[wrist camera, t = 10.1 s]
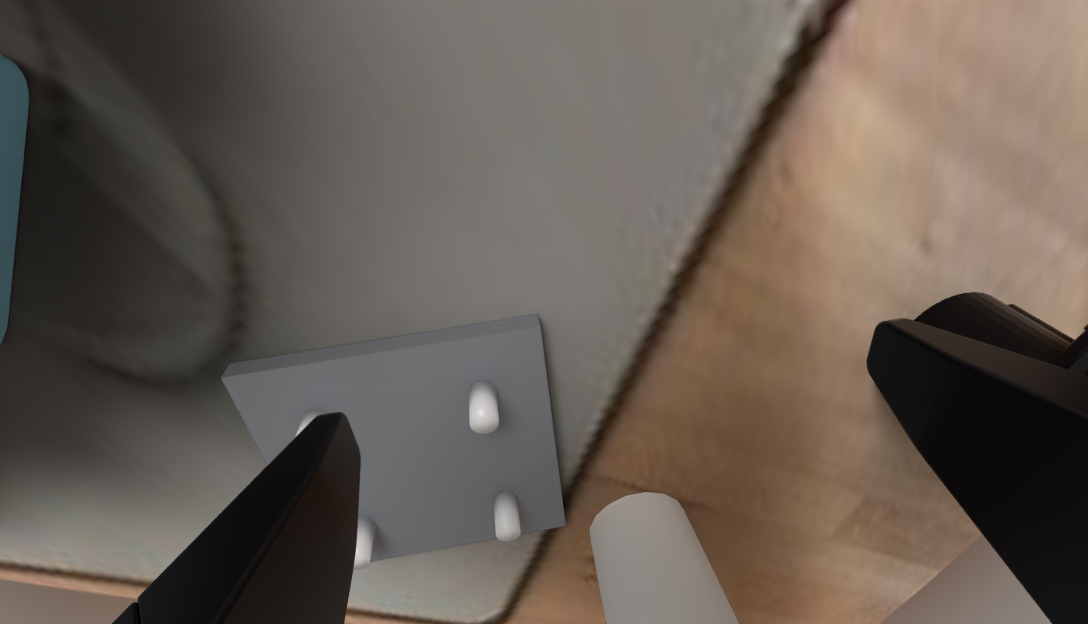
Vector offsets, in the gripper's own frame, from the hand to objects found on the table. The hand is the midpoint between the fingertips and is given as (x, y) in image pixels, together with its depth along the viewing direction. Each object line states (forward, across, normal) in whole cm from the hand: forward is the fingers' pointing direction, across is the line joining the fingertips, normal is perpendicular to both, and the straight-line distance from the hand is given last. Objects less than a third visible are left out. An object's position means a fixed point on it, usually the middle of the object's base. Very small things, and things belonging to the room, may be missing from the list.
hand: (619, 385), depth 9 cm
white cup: (+13, -4, +22) cm, 26 cm away
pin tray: (+13, +7, +13) cm, 20 cm away
